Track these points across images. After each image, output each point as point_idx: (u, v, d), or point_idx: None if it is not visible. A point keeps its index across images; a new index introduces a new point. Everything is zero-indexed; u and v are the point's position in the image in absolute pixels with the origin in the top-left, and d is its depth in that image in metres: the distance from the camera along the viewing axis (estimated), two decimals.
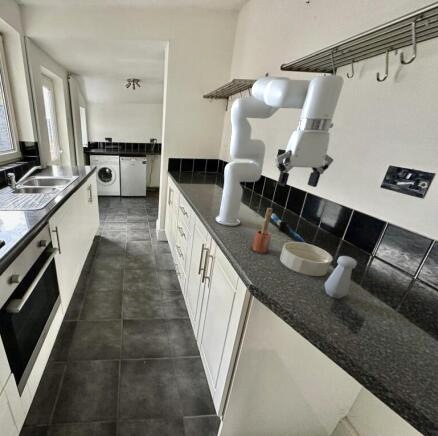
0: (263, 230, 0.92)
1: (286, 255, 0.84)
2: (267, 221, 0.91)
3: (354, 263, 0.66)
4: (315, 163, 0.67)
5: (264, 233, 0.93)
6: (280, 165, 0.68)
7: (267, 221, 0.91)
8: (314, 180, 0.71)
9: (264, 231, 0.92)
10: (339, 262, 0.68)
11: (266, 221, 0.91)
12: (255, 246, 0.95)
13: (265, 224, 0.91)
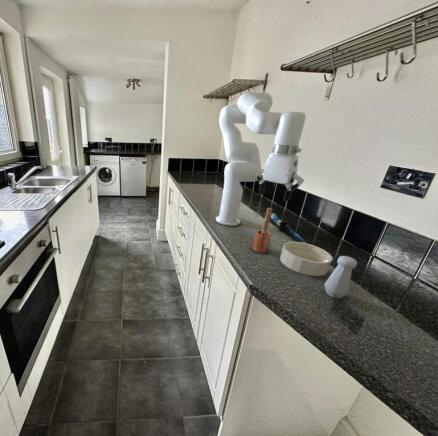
0: (263, 230, 0.92)
1: (286, 255, 0.84)
2: (267, 221, 0.91)
3: (354, 263, 0.66)
4: (280, 180, 0.82)
5: (264, 233, 0.93)
6: (257, 177, 0.90)
7: (267, 221, 0.91)
8: None
9: (264, 231, 0.92)
10: (339, 262, 0.68)
11: (266, 221, 0.91)
12: (255, 246, 0.95)
13: (265, 224, 0.91)
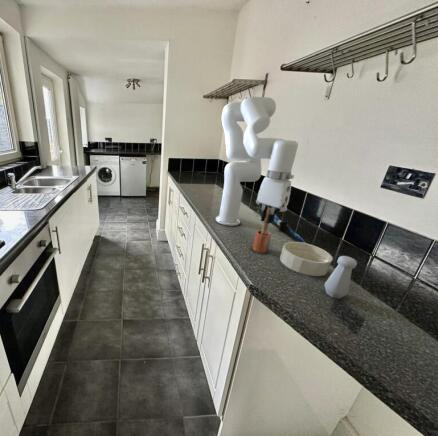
0: (263, 230, 0.92)
1: (286, 255, 0.84)
2: None
3: (354, 263, 0.66)
4: (274, 204, 0.86)
5: (264, 233, 0.93)
6: (260, 204, 0.92)
7: None
8: None
9: (264, 231, 0.92)
10: (339, 262, 0.68)
11: (266, 221, 0.91)
12: (255, 246, 0.95)
13: (265, 224, 0.91)
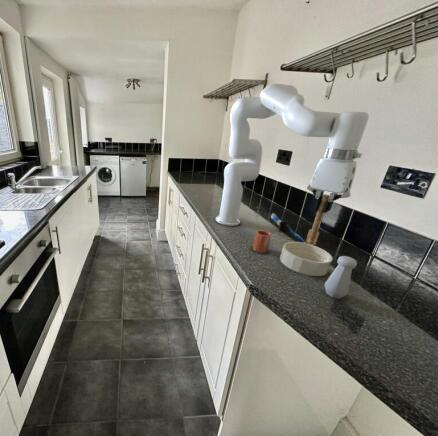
0: (316, 221, 0.79)
1: (286, 255, 0.84)
2: None
3: (354, 263, 0.66)
4: (334, 189, 0.72)
5: (318, 224, 0.79)
6: (313, 191, 0.79)
7: None
8: None
9: (318, 222, 0.79)
10: (339, 262, 0.68)
11: (321, 210, 0.78)
12: (255, 246, 0.95)
13: (320, 214, 0.78)
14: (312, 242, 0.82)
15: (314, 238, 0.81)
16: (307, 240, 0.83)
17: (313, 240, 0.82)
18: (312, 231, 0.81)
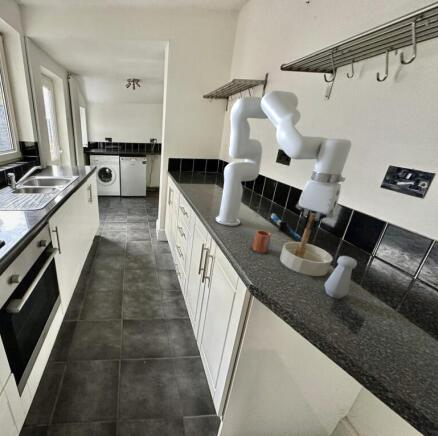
0: (304, 237, 0.84)
1: (286, 255, 0.84)
2: None
3: (354, 263, 0.66)
4: (320, 209, 0.78)
5: (305, 240, 0.85)
6: (301, 209, 0.84)
7: (309, 227, 0.83)
8: None
9: (305, 238, 0.84)
10: (339, 262, 0.68)
11: (308, 228, 0.83)
12: (255, 246, 0.95)
13: (307, 231, 0.83)
14: (300, 257, 0.87)
15: (302, 253, 0.86)
16: (296, 255, 0.88)
17: (301, 254, 0.87)
18: (300, 246, 0.86)
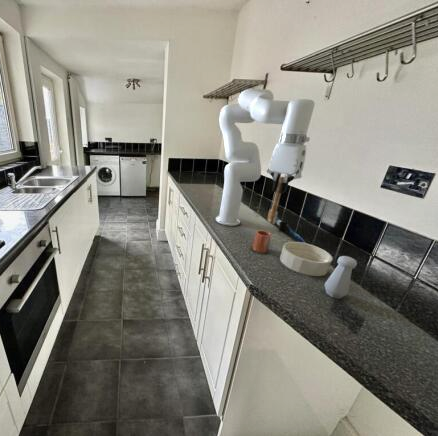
0: (275, 201, 0.87)
1: (286, 255, 0.84)
2: None
3: (354, 263, 0.66)
4: (287, 171, 0.80)
5: (276, 204, 0.87)
6: (271, 173, 0.86)
7: None
8: None
9: (276, 202, 0.87)
10: (339, 262, 0.68)
11: (278, 191, 0.85)
12: (255, 246, 0.95)
13: (277, 194, 0.86)
14: (272, 221, 0.89)
15: (273, 217, 0.89)
16: (268, 220, 0.91)
17: (272, 219, 0.89)
18: (271, 211, 0.88)
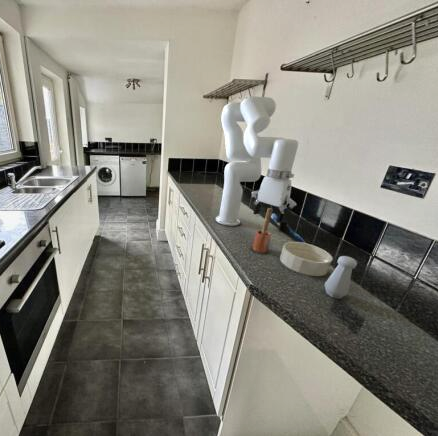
0: (263, 230, 0.92)
1: (286, 255, 0.84)
2: (267, 221, 0.90)
3: (354, 263, 0.66)
4: (274, 203, 0.85)
5: (264, 233, 0.92)
6: (252, 198, 0.94)
7: (267, 221, 0.90)
8: None
9: (264, 231, 0.92)
10: (339, 262, 0.68)
11: (266, 221, 0.91)
12: (255, 246, 0.95)
13: (265, 224, 0.91)
14: None
15: None
16: None
17: None
18: None
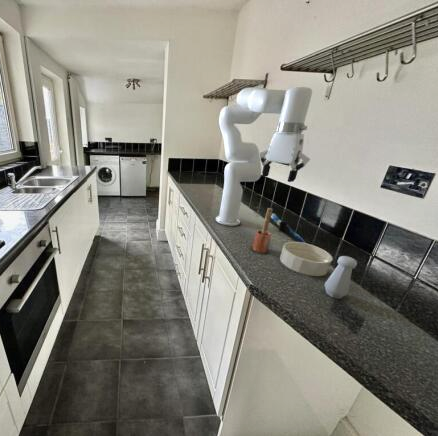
0: (263, 230, 0.92)
1: (286, 255, 0.84)
2: (267, 221, 0.90)
3: (354, 263, 0.66)
4: (285, 160, 0.79)
5: (264, 233, 0.92)
6: (261, 159, 0.88)
7: (267, 221, 0.90)
8: None
9: (264, 231, 0.92)
10: (339, 262, 0.68)
11: (266, 221, 0.91)
12: (255, 246, 0.95)
13: (265, 224, 0.91)
14: None
15: None
16: None
17: None
18: None
